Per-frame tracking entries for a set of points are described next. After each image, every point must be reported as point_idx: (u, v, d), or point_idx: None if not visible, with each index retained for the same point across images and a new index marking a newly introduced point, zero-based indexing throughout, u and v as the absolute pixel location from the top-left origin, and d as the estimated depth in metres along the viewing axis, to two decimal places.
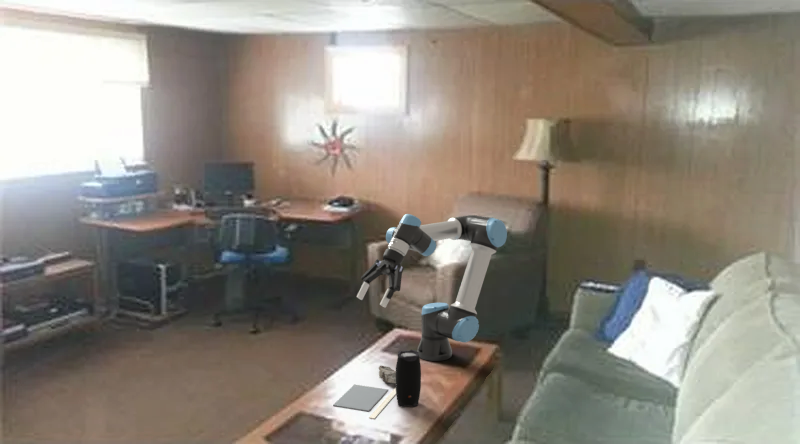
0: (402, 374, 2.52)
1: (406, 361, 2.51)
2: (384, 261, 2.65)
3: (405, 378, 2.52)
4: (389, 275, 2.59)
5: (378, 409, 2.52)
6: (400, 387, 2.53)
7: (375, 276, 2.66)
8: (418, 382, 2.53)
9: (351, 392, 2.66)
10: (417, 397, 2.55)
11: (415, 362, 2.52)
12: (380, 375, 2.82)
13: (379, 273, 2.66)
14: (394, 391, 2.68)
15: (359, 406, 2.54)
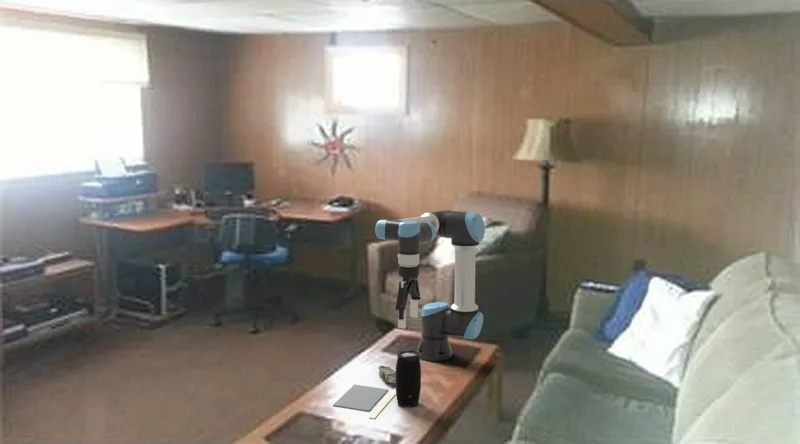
0: (402, 374, 2.52)
1: (406, 361, 2.51)
2: None
3: (405, 378, 2.52)
4: None
5: (378, 409, 2.52)
6: (400, 387, 2.53)
7: (412, 291, 2.55)
8: (418, 382, 2.53)
9: (351, 392, 2.66)
10: (417, 397, 2.55)
11: (414, 362, 2.52)
12: (380, 375, 2.82)
13: (411, 288, 2.54)
14: (394, 391, 2.68)
15: (359, 406, 2.54)
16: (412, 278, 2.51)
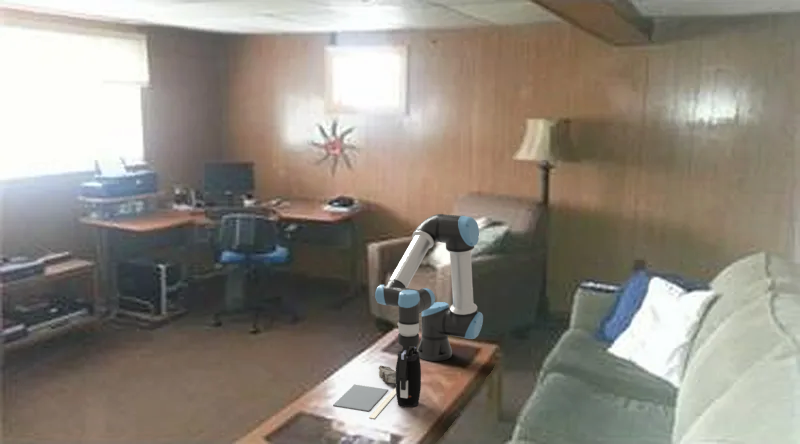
0: None
1: None
2: None
3: None
4: None
5: (378, 409, 2.52)
6: None
7: None
8: (418, 382, 2.53)
9: (351, 392, 2.66)
10: (417, 397, 2.55)
11: (415, 362, 2.52)
12: (380, 375, 2.82)
13: None
14: (394, 391, 2.68)
15: (359, 406, 2.54)
16: None
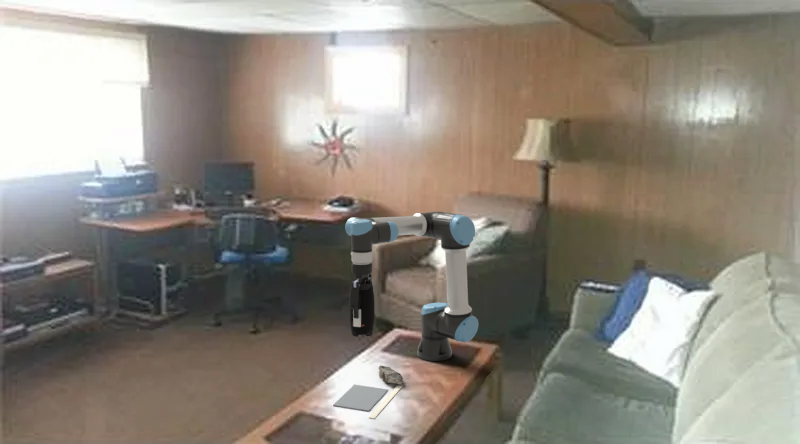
0: None
1: (359, 290, 2.52)
2: None
3: None
4: None
5: (378, 409, 2.52)
6: None
7: None
8: (371, 311, 2.54)
9: (351, 392, 2.66)
10: (371, 326, 2.55)
11: (367, 291, 2.52)
12: (380, 375, 2.82)
13: None
14: (394, 391, 2.68)
15: (359, 406, 2.54)
16: (366, 274, 2.55)
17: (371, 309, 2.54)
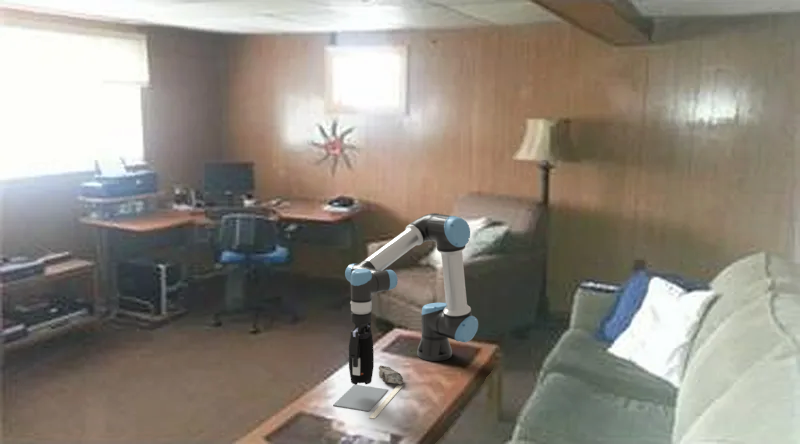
0: None
1: None
2: None
3: None
4: None
5: (378, 409, 2.52)
6: None
7: None
8: (370, 360, 2.57)
9: (351, 392, 2.66)
10: (370, 374, 2.58)
11: (367, 340, 2.55)
12: (380, 375, 2.82)
13: None
14: (394, 391, 2.68)
15: (359, 406, 2.54)
16: None
17: (370, 358, 2.57)
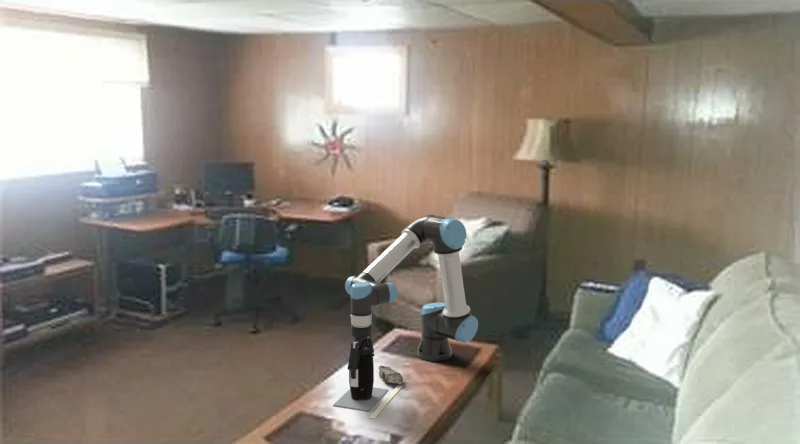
0: None
1: None
2: None
3: None
4: None
5: (378, 409, 2.52)
6: None
7: None
8: (371, 375, 2.58)
9: None
10: (370, 390, 2.59)
11: (367, 356, 2.56)
12: (380, 375, 2.82)
13: None
14: (394, 391, 2.68)
15: (359, 406, 2.54)
16: (365, 337, 2.59)
17: (370, 373, 2.58)
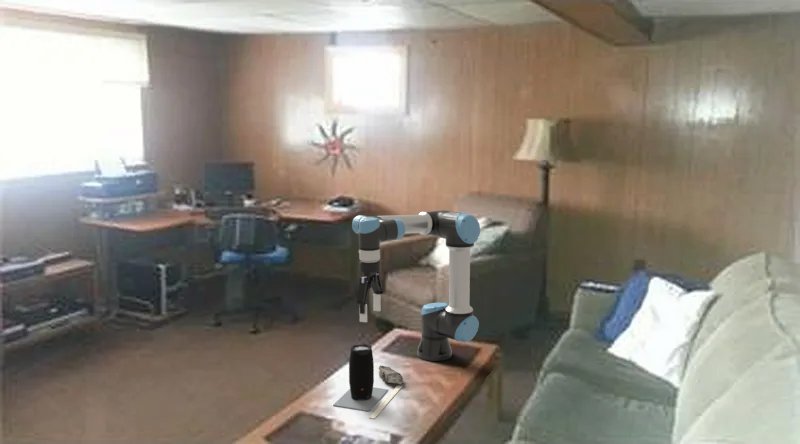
0: (355, 367, 2.57)
1: (358, 355, 2.56)
2: None
3: (357, 371, 2.57)
4: None
5: (378, 409, 2.52)
6: (353, 380, 2.58)
7: (375, 286, 2.62)
8: (371, 375, 2.58)
9: None
10: (370, 390, 2.59)
11: (367, 356, 2.56)
12: (380, 375, 2.82)
13: (373, 283, 2.60)
14: (394, 391, 2.68)
15: (359, 406, 2.54)
16: (373, 273, 2.57)
17: (370, 373, 2.58)
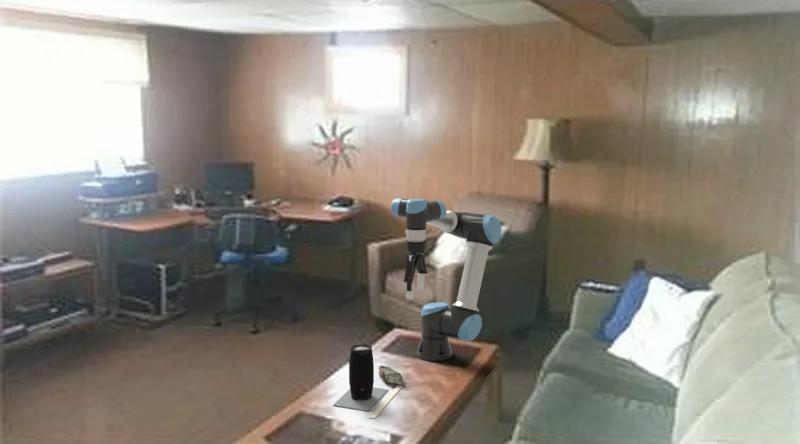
0: (355, 367, 2.57)
1: (358, 355, 2.56)
2: None
3: (357, 371, 2.57)
4: None
5: (378, 409, 2.52)
6: (353, 380, 2.58)
7: (419, 265, 2.71)
8: (371, 375, 2.58)
9: None
10: (370, 390, 2.59)
11: (367, 356, 2.56)
12: (380, 375, 2.82)
13: (418, 263, 2.69)
14: (394, 391, 2.68)
15: (359, 406, 2.54)
16: (419, 252, 2.66)
17: (370, 373, 2.58)
